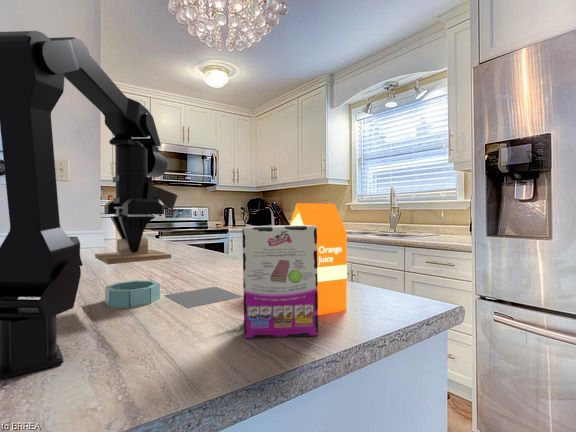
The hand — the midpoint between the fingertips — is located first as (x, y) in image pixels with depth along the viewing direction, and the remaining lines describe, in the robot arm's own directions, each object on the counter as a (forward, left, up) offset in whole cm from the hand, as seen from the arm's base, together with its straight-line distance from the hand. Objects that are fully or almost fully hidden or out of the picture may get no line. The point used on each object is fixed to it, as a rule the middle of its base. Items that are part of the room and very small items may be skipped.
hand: (132, 251), depth 65 cm
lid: (0, 0, -1) cm, 1 cm away
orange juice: (-25, -26, -11) cm, 38 cm away
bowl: (0, 0, -11) cm, 11 cm away
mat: (-6, -12, -11) cm, 17 cm away
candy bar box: (-30, -13, -11) cm, 34 cm away
